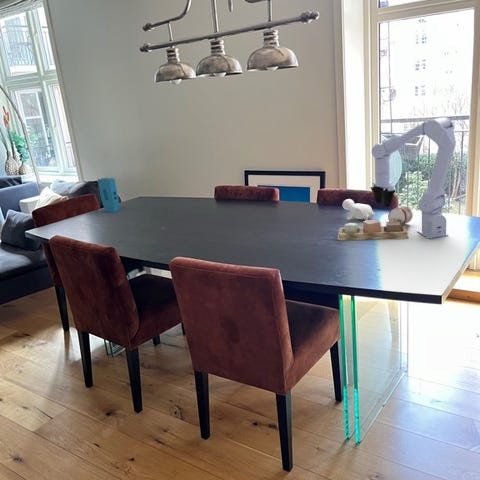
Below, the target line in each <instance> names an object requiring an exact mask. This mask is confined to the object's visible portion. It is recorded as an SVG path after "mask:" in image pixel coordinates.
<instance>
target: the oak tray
mask: <svg viewBox="0 0 480 480" xmlns="http://www.w3.org/2000/svg"><path fill="white" fill-rule="evenodd" d="M392 239H393V240H395V239H397V240H399V239H409V233H408V230H407V228H406V226H405V225H400V232H387V229H386V225H385V226H384V225H382V226H381V232H375V233H363V226H357V233H345V227H339V230H338V233H337V241H356V240H357V241H359V240H361V241H362V240H392Z"/></svg>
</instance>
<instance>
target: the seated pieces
mask: <svg viewBox="0 0 480 480" xmlns="http://www.w3.org/2000/svg"><path fill="white" fill-rule="evenodd" d="M385 223H386V225H385V226H386V229H387V232H400V226H401V225H400V222H399V221H395V222H389V221H385ZM357 227H358V224H357V223H356V222H355V223H354V222H349V223H345V224H344V228H345V233H357Z"/></svg>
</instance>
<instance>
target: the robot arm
mask: <svg viewBox="0 0 480 480" xmlns="http://www.w3.org/2000/svg"><path fill="white" fill-rule="evenodd" d="M454 129H455V124H454V123H453V122H452V120H451V119H450V118H449V117H446V116H440V117H438V118H434V119H430V120H427V121H424V122H421V123H420V124H417V125H416V126H415V127H413V128H411V129H409V130H408V131H406V132H405V133H403V134H401V133H393V134H392V135H391V136H390V137H389V138H387V139H384V140H382V142H381V143H376V144H374V146H372V149H371V154H372V157H374V180H372V186H370V190H371V192H372V194H373V196H374V201H375V203H376V204H381V203H382V201H383V205H384V206H383V207H384V208H388V207H391V204H392V199H393V197H394V195H395V193H396V190H395V189H394V185H393V182H392V181H391V180H390V176H391V175H390V174H391V173H390V159H391V155H392V154H394V153H395V152H397V151H399V150H400V149H403V148H404V147H405V146H406V143H408V142H409V141H411V140H413V139H415V138H417V137H419V136H426V137H427V138H429V139H430V140H432V142H434V143H435V144H436V145H437V147H438V149H437V152H436V156H435V160H434V163H433V168H432V171H431V173H430V174H431V175H430V178H429V184H428V186H427V188H426V189H425V190H424V192H423V194H422V197H421V198H420V199H419V200H418V202H417V203H418V209H419V210H420V211H421V229H420V230H417V233H419V234H420V235H422V236H424V237H425V238H427V239H434V238H441V237H447V236H449V234H448V233H447V219H446V217H445V215H443V207H444V206H445V204H446V196H445V195H446V191H445V189H444V188H445V187H444V186H445V184H446V180H447V178H448V174H449V169H450V166H451V163H452V159H453V156H454V151H455V148H456V145H457V144H456V143H457V141H456V137H455V132H454V131H455V130H454Z"/></svg>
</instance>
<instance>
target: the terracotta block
mask: <svg viewBox="0 0 480 480" xmlns="http://www.w3.org/2000/svg"><path fill="white" fill-rule="evenodd" d="M381 225H382V223H381V221H379V220H376V219H375V218H373V219H368V220H367V221H365V220H363V221H362V227H363V233H375V232H381Z"/></svg>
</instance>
